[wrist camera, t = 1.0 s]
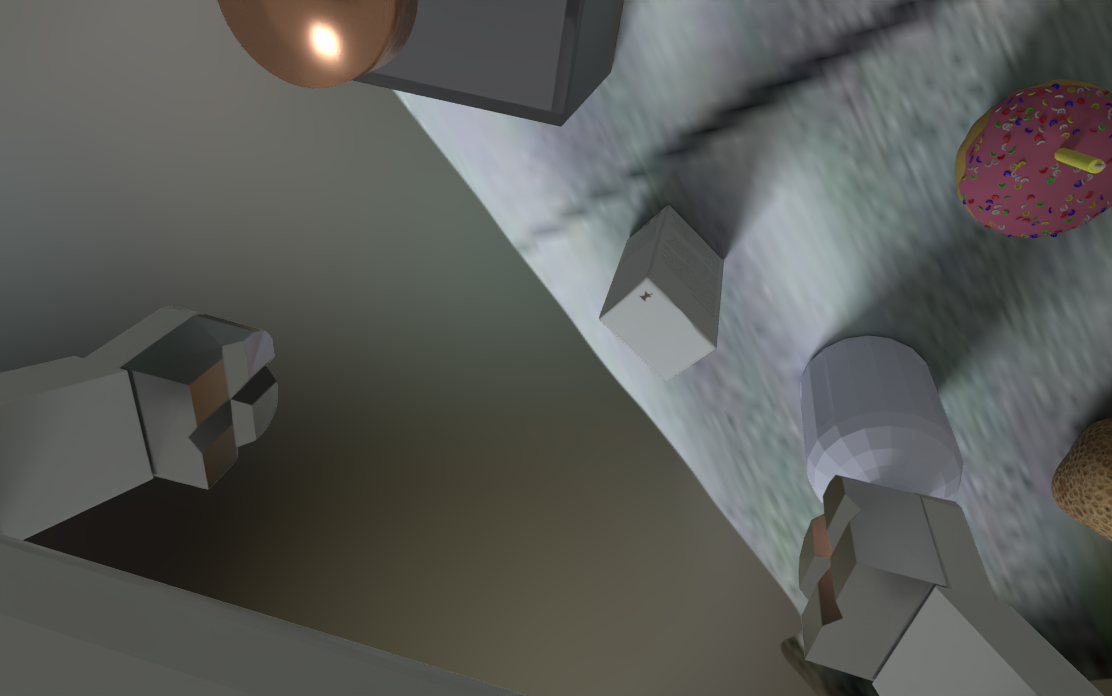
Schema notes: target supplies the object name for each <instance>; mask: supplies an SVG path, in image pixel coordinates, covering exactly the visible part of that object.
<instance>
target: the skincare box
mask: <svg viewBox="0 0 1112 696" xmlns="http://www.w3.org/2000/svg"><path fill="white" fill-rule="evenodd" d="M723 266H724V261H723V260H722V259H721V258H720V257H719V256H718V255H717V254H716V253H715V252H714V251H713V249H712V248H711V247H710V246H709V245H708V244H707V243H706V242H705V241H704V240H703V239H702V238H701V237H700V236H699V235H698V234H697V233H696V232H695V231H694V230H693V229H692V228H691V227H690V226H689V225H688V224H687V223H686V222H685V221H684V220H683V218H682V217H681V216H680V215H679V214H678V213H677V212H676V211H675V210H674V209H673V208H672V207H671V206H670V205H667V206H666V207H665V208H663V209H662V210H661V211H660V212H659V213H658V214H657V215H655V216H654V217H653V218H652V219H651V220H650V221H648V222H647V223H646V224H645V225H644V226H643V227H642V228H641V229H640V230H638V231H637V232H636V233H635V234H634V235H633V236H631V237H630V238H629V239H628V240H627V243H626V245H625V248H624V251H623V254H622V256H621V259H620V262H619V264H618V267H617V270H616V273H615V275H614V278H613V281H612V284H611V286H610V289H609V292H608V294H607V297H606V300H605V303H604V305H603V308H602V311H601V313H600V316H599V320H600V321H601V322H602V323H603V324H604V325H605V326H606V327H607V328H608V329H610V330H611V331H612V332H613V333H614V334H615V335H616V336H617V337H618V338H619V339H620V340H621V341H622V342H623V343H624V344H625V345H627V346H628V347H629V348H630V349H631V350H632V351H633V352H634V353H635V354H636V355H637V356H639V357H640V358H641V359H642V360H643V361H644V362H645V363H646V364H647V365H648V366H649V367H650V368H651V369H652V370H653V371H655V372H656V373H657V374H658V375H659V376H660V377H661V378H662V379H663V380H664V381H665V382H667V381H669V380H670V379H671V378H673V377H674V376H676V375H677V374H679V373H680V372H682V371H683V370H685V369H686V368H688V367H689V366H691V365H692V364H694V363H695V362H697V361H698V360H700V359H701V358H703V357H704V356H706V355H707V354H708V353H710V352H711V351H713V350H714V349H716V348H717V337H718V324H719V311H720V300H721V289H722V278H723Z"/></svg>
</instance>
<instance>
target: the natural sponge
mask: <svg viewBox="0 0 1112 696" xmlns="http://www.w3.org/2000/svg"><path fill="white" fill-rule="evenodd" d="M1051 490H1052V494H1053V497H1054V499H1055V501H1056V502H1057V504H1058V505H1059V507H1060V508H1061V509H1062V510H1063V511H1064V512H1065V513H1067V514H1068V515H1069V516H1071V517H1072V518H1073V519H1075V520H1076V521H1078V522H1080V523H1081V524H1083V525H1085V526H1087V527H1088V528H1090V529H1092V530H1094V531H1095V532H1097V533H1098V534H1100V535H1102V536H1103V537H1105V538H1106V539H1108V540H1110V541H1112V418H1109V419H1104V420H1100V421H1097V422H1095V423H1093V424H1091V425H1089V426H1088V427H1087V428H1086V429H1085V430H1084V431H1083V432H1082V433H1081V435H1080V436H1079V437H1078V439H1077V440H1076V441H1075V443H1074V444H1073V446H1072V447H1071V449H1070V451H1069V453H1068V454H1067V455H1066V457H1065V458H1064V459H1063V460H1062V462H1061V463H1060V465H1059V466H1058V468H1057V469H1056V471H1055V474H1054V476H1053V478H1052V487H1051Z"/></svg>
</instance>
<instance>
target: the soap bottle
mask: <svg viewBox="0 0 1112 696" xmlns="http://www.w3.org/2000/svg"><path fill="white" fill-rule="evenodd" d="M800 401H801V411H802V422H803V433H804V444H805V454H806V465H807V476H808V478H809V481H810V483H811V485H812V487H813V489H814V492H815V494H816V495H817V496H818V498H819V499H820V500H821V502H822V503H823V494H824V492H825V490H826V488H827V486H828V484H829V482H830V481H831V480H832V479H833V477H834V476H835V475H840V476H844V477H848V478H852V479H856V480H860V481H864V482H868V483H872V484H876V485H880V486H884V487H888V488H893V489H897V490H901V491H905V492H909V493H913V494H914V493H919V494H923V495H928V496H932V497H937V498H941V499H945V500H950V501H952V499H953V498H954V496H955V495H956V494H957V492H958V489H959V485H960V481H961V475H962V469H963V463H964V462H963V459H962V456H961V453H960V450H959V447H958V445H957V442H956V439H955V437H954V434H953V431H952V429H951V426H950V423H949V421H948V418H947V416H946V413H945V410H944V408H943V405H942V402H941V400H940V397H939V395H938V392H937V389H936V387H935V384H934V381H933V379H932V376H931V374H930V371H929V368H928V366H927V363H926V362H925V361H924V360H923V359H922V358H921V357H920V356H919V355H918V354H917V353H916V352H915V351H914V350H913V349H912V348H910V347H908V346H906V345H904V344H902V343H900V342H898V341H895V340H893V339H891V338H885V337H877V336H869V335H866V336H860V337H853V338H847V339H843V340H841V341H839V342H837V343H835V344H833V345H830V346H828V347H826V348H824V349H823V350H822V351H821V352H820V353H819V354H818V355H817V356H816V357H815V358H814V359H813V360H812V361H810V362H809V364H808V366H807V368H806V370H805V372H804V374H803V376H802V378H801V385H800Z"/></svg>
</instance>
